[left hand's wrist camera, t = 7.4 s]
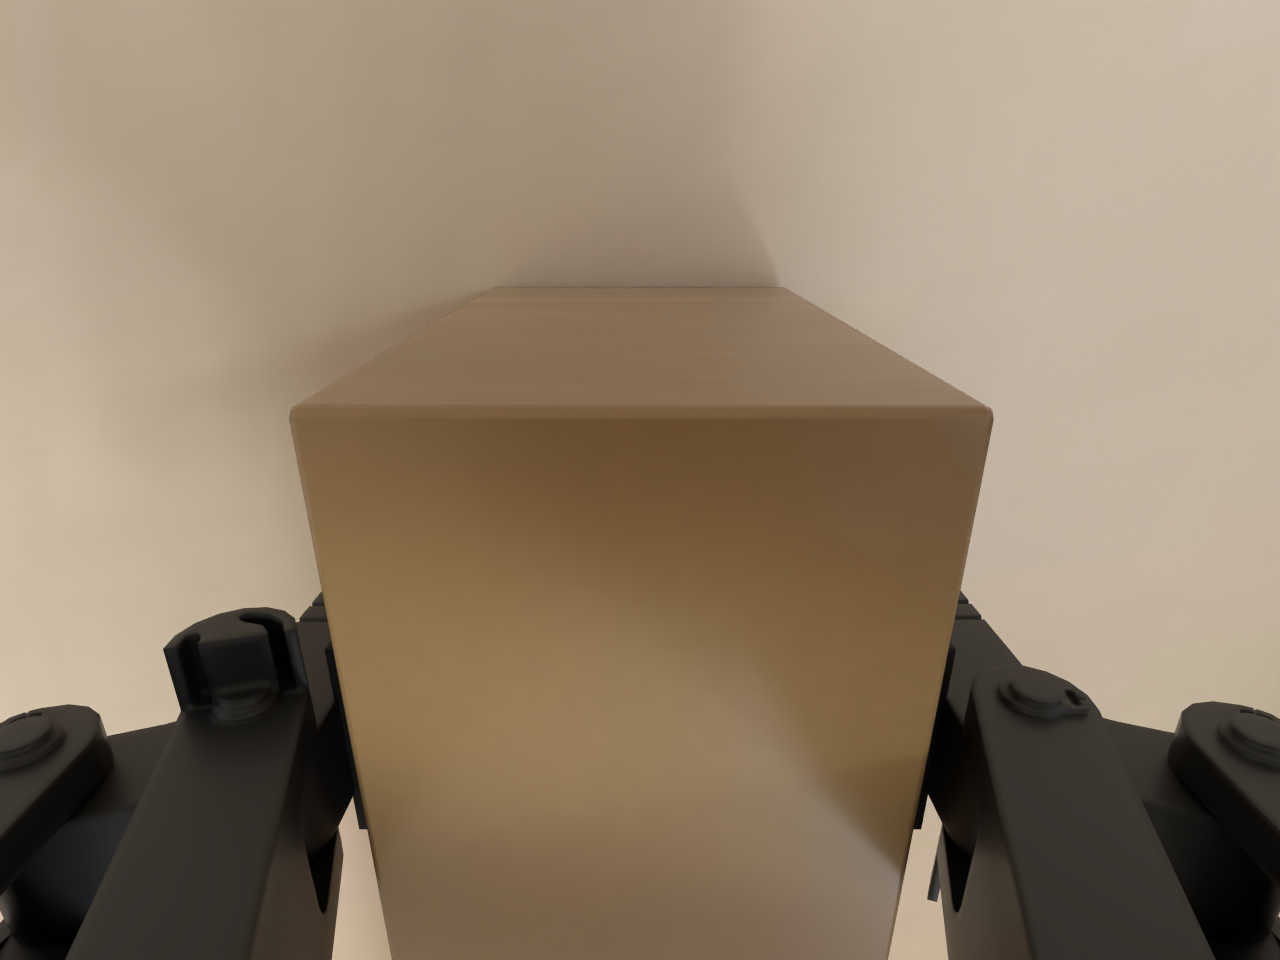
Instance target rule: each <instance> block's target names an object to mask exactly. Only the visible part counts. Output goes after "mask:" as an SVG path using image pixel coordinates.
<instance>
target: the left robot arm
mask: <svg viewBox="0 0 1280 960" xmlns="http://www.w3.org/2000/svg"><path fill="white" fill-rule="evenodd" d="M163 651H164V654H165V657H166V661H167V664H168V668H169V671H170V674H171V678H172V681H173V685H174V688H175V691H176V695H177V698H178V702H179V705H180V708H181V713H180V715H179V717H178V719H177V721H176V722H172V723H168V724H165V725H160V726H155V727H150V728H145V729H140V730H135V731H130V732H125V733H121V734H116V735H111V736H107V734H106V732H105V729H104V726H103V723H102V720H101V717H100V715H99V714H98V713H97V712H95V711H94V710H92V709H91V708H90V707H87V706H78V705H69V704H68V705H61V706H54V707H47V708H40V709H36V710H32V711H29V712H28V713H22V714H19V715H16V716H13V717H11V718H9V719H7V720H6V721H4V722H2V723H0V911H1V913H2V915H3V917H4V919H3V920H2V922H1V923H0V960H332V952H333V943H334V934H335V925H336V916H337V908H338V899H339V890H340V881H341V872H342V864H343V849H342V842H341V837H340V832H339V828H338V826H339V824H340V822H341V820H342V818H343V816H344V813H345V811H346V809H347V807H348V805H349V803H350V801H351V799H352V797H353V799H354V804H355V809H356V814H357V819H358V824H359V829H367V825H366V819H365V814H364V809H363V803H362V798H361V793H360V788H359V782H358V777H357V772H356V767H355V761H354V756H353V751H352V746H351V740H350V735H349V730H348V725H347V719H346V714H345V709H344V703H343V698H342V693H341V688H340V682H339V677H338V672H337V667H336V661H335V656H334V651H333V646H332V640H331V635H330V630H329V624H328V619H327V614H326V609H325V603H324V598H323V593H322V592H321V593H320V594H319V595H318V597H317V598H316V599H315V600H314V602H313V605H312V606H309V608H308V609H307V610H306V611H305V612H304V614H303V615H302V616H301V617H300V622H295V618H294V617H292V616H291V615H290V614H288V613H287V612H285V611H283V610H278V609H273V608H268V607H262V608H243V609H239V610H234V611H230V612H225V613H221V614H218V615H215V616H212V617H210V618H207V619H205V620H202V621H200V622H197V623H195V624H193V625H192V626H190V627H188V628H187V629H185V630H184V631H182V632H180V633H179V634H177V635H175V637H174V638H173V639H172V640H171V641H170V642H169V643H168V644H167V645H166V646H165V647H164V648H163ZM928 795H929V797H930V799H931V801H932V803H933V805H934V807H935V809H936V811H937V813H938V815H939V817H940V819H941V821H942V828H941V832H940V837H939V842H938V847H937V851H936V856H935V861H934V866H933V871H932V875H931V880H930V885H929V891H928V898H927V900H931V901H936V902H937V899H938V894H939V890H940V888H941V897H942V906H943V915H944V923H945V932H946V941H947V950H948V958H949V960H1280V918H1279V917H1278V915H1279V913H1280V719H1278V718H1277V717H1275V716H1274V715H1272V714H1269V713H1266V712H1263V711H1261V710H1258V709H1257V710H1254V709H1253V708H1251V707H1246V706H1242V705H1235V704H1228V703H1221V702H1214V701H1212V702H1203V703H1194V704H1192V705H1191V706H1189V707H1188V708H1186V709H1185V710H1184V711H1182V713H1181V716H1180V719H1179V722H1178V725H1177V728H1176V731H1175V733H1170V732H1165V731H1160V730H1155V729H1151V728H1146V727H1141V726H1136V725H1131V724H1126V723H1121V722H1116V721H1113V720H1109V719H1105V718H1102V716H1101V713H1100V711H1099V710H1098V708H1097V707H1096V706H1095V704H1094V703H1093V702H1092V700H1091V699H1090V698H1089V697H1088V695H1086V694H1085V693H1084V692H1082V691H1081V690H1079V689H1078V688H1077V687H1075V686H1074V685H1072V684H1071V683H1070V682H1068V681H1066V680H1064V679H1061V678H1059V677H1057V676H1055V675H1053V674H1050V673H1048V672H1046V671H1042V670H1038V669H1034V668H1030V667H1026V666H1022V664H1021V663H1020V662H1019V661H1018V660H1017V658H1016V657H1015V656H1014V655H1013V654H1012V652H1011V651H1010V650H1009V649H1008V647H1007V646H1006V645H1005V644H1004V643H1003V641H1002V640H1001V639H1000V638H999V637H998V635H997V634H996V633H995V632H994V631H993V629H992V628H991V627H990V626H989V625H988V623H987V622H986V621H985V620H981V615H980V614H979V613H978V611H977V610H976V609H975V608H974V607H973V605H972V604H969V603H968V599H967V598H966V597H965V596H964V594H963V593H962V592H961V591H960V593H959V598H958V603H957V609H956V614H955V619H954V624H953V629H952V634H951V639H950V644H949V649H948V655H947V660H946V665H945V670H944V675H943V680H942V685H941V690H940V695H939V701H938V706H937V711H936V716H935V721H934V726H933V731H932V736H931V741H930V746H929V752H928V757H927V762H926V767H925V772H924V777H923V782H922V787H921V792H920V798H919V803H918V808H917V813H916V818H915V823H914V828H913V829H921V827H922V822H923V816H924V811H925V806H926V801H927V796H928Z"/></svg>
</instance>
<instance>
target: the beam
mask: <svg viewBox="0 0 1280 960" xmlns="http://www.w3.org/2000/svg"><path fill="white" fill-rule="evenodd" d="M289 419H290V424H291V430H292V435H293V440H294V445H295V451H296V456H297V461H298V467H299V472H300V477H301V482H302V488H303V493H304V498H305V503H306V509H307V514H308V519H309V524H310V530H311V535H312V540H313V545H314V551H315V556H316V561H317V567H318V572H319V577H320V582H321V588H322V593H323V598H324V603H325V609H326V614H327V619H328V624H329V630H330V635H331V640H332V646H333V651H334V656H335V661H336V667H337V672H338V677H339V682H340V688H341V693H342V698H343V703H344V709H345V714H346V719H347V725H348V730H349V735H350V740H351V746H352V751H353V756H354V761H355V767H356V772H357V777H358V782H359V788H360V793H361V798H362V803H363V809H364V814H365V819H366V825H367V830H368V835H369V840H370V846H371V851H372V856H373V861H374V867H375V872H376V877H377V882H378V888H379V893H380V898H381V904H382V909H383V914H384V919H385V925H386V930H387V935H388V940H389V946H390V951H391V956H392V960H888V956H889V951H890V946H891V941H892V935H893V930H894V925H895V920H896V915H897V910H898V905H899V900H900V895H901V890H902V884H903V879H904V874H905V869H906V864H907V859H908V854H909V849H910V844H911V838H912V833H913V828H914V823H915V818H916V813H917V808H918V803H919V798H920V792H921V787H922V782H923V777H924V772H925V767H926V762H927V757H928V752H929V746H930V741H931V736H932V731H933V726H934V721H935V716H936V711H937V706H938V701H939V695H940V690H941V685H942V680H943V675H944V670H945V665H946V660H947V655H948V649H949V644H950V639H951V634H952V629H953V624H954V619H955V614H956V609H957V603H958V598H959V593H960V588H961V583H962V578H963V573H964V568H965V563H966V558H967V552H968V547H969V542H970V537H971V532H972V527H973V522H974V517H975V512H976V506H977V501H978V496H979V491H980V486H981V481H982V476H983V471H984V466H985V460H986V455H987V450H988V445H989V440H990V435H991V430H992V425H993V420H994V419H993V412H992V410H991V408H989V407H987V406H986V405H984V404H982V403H981V402H979V401H977V400H975V399H974V398H972V397H970V396H969V395H967V394H965V393H963V392H962V391H960V390H958V389H957V388H955V387H953V386H952V385H950V384H948V383H946V382H945V381H943V380H941V379H940V378H938V377H936V376H934V375H933V374H931V373H929V372H928V371H926V370H924V369H923V368H921V367H919V366H917V365H916V364H914V363H912V362H911V361H909V360H907V359H906V358H904V357H902V356H900V355H899V354H897V353H895V352H894V351H892V350H890V349H888V348H887V347H885V346H883V345H882V344H880V343H878V342H877V341H875V340H873V339H871V338H870V337H868V336H866V335H865V334H863V333H861V332H859V331H858V330H856V329H854V328H853V327H851V326H849V325H848V324H846V323H844V322H842V321H841V320H839V319H837V318H836V317H834V316H832V315H830V314H829V313H827V312H825V311H824V310H822V309H820V308H819V307H817V306H815V305H813V304H812V303H810V302H808V301H807V300H805V299H803V298H801V297H800V296H798V295H796V294H795V293H793V292H791V291H790V290H788V289H786V288H714V287H494V288H492V289H490V290H489V291H487V292H485V293H484V294H482V295H480V296H479V297H477V298H475V299H474V300H472V301H470V302H469V303H467V304H465V305H463V306H462V307H460V308H458V309H457V310H455V311H453V312H452V313H450V314H448V315H447V316H445V317H443V318H442V319H440V320H438V321H437V322H435V323H433V324H432V325H430V326H428V327H427V328H425V329H423V330H422V331H420V332H418V333H417V334H415V335H413V336H412V337H410V338H408V339H406V340H405V341H403V342H401V343H400V344H398V345H396V346H395V347H393V348H391V349H390V350H388V351H386V352H385V353H383V354H381V355H380V356H378V357H376V358H375V359H373V360H371V361H370V362H368V363H366V364H365V365H363V366H361V367H360V368H358V369H356V370H355V371H353V372H351V373H349V374H348V375H346V376H344V377H343V378H341V379H339V380H338V381H336V382H334V383H333V384H331V385H329V386H328V387H326V388H324V389H323V390H321V391H319V392H318V393H316V394H314V395H313V396H311V397H309V398H308V399H306V400H304V401H303V402H301V403H299V404H298V405H296V406H294V407H292V409H291V411H290V418H289Z"/></svg>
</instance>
